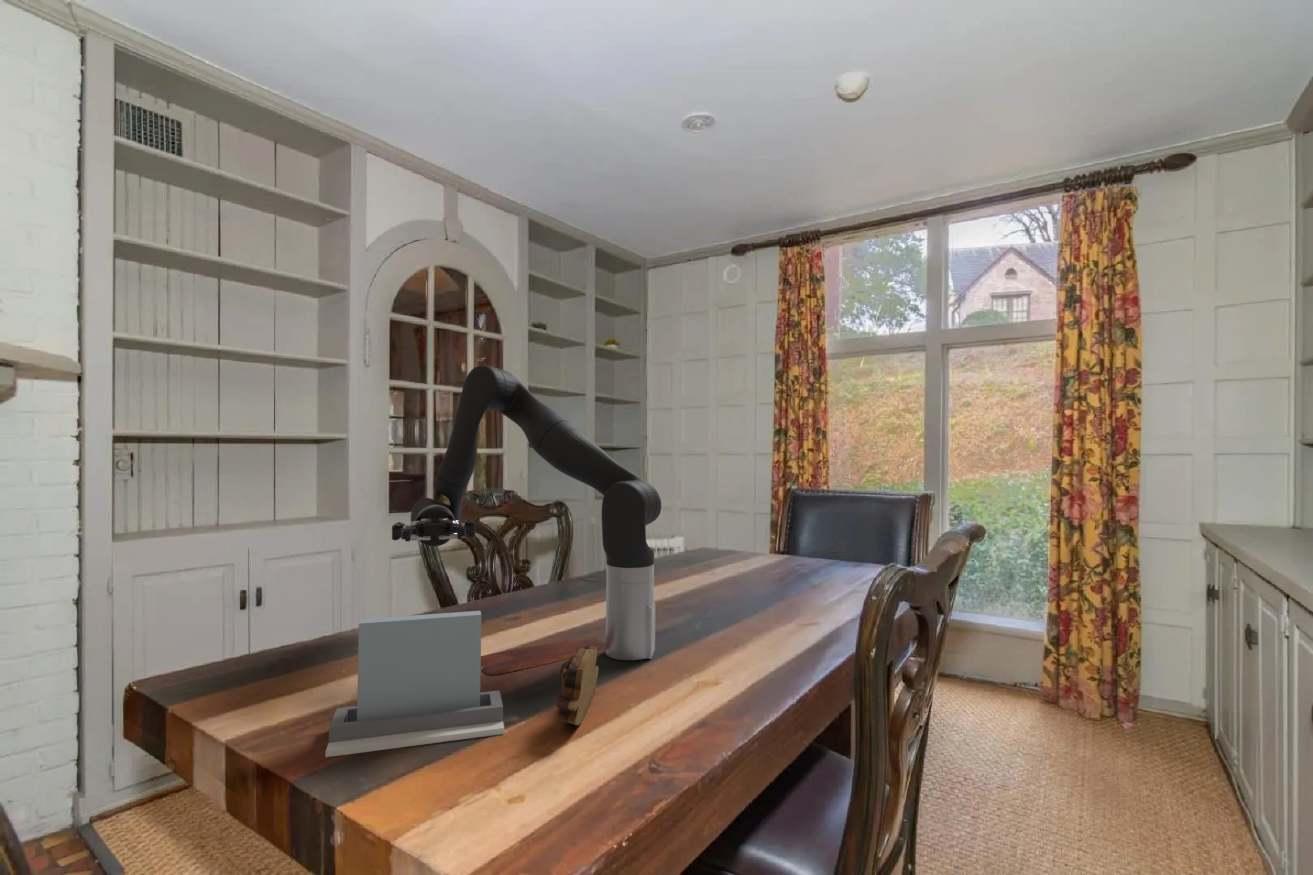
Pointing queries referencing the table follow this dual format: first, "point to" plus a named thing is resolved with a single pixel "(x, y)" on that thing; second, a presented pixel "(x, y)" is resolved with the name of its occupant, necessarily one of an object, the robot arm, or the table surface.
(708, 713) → the table surface
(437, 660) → the grey panel
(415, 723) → the track
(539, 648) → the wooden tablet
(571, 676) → the wooden carving
